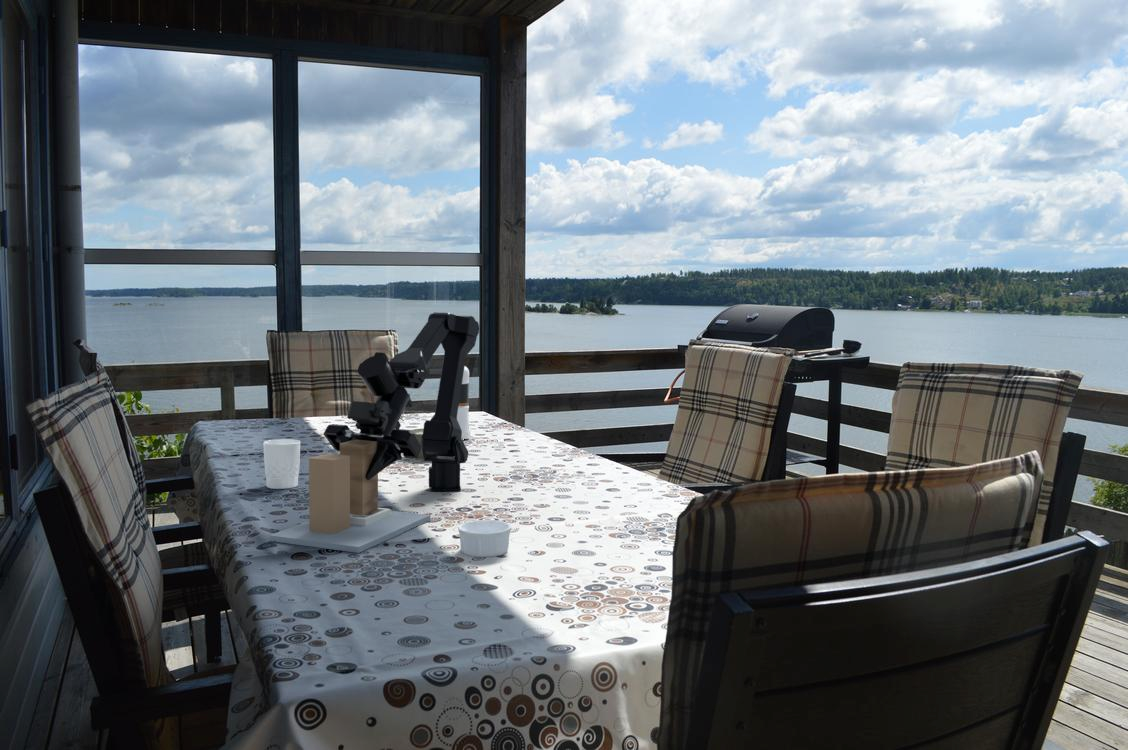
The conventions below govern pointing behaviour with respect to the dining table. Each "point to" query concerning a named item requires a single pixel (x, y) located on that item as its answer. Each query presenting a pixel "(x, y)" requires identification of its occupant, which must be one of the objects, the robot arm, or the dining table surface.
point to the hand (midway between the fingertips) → (354, 477)
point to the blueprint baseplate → (353, 533)
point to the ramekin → (484, 538)
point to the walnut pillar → (361, 476)
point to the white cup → (281, 463)
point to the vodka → (464, 406)
